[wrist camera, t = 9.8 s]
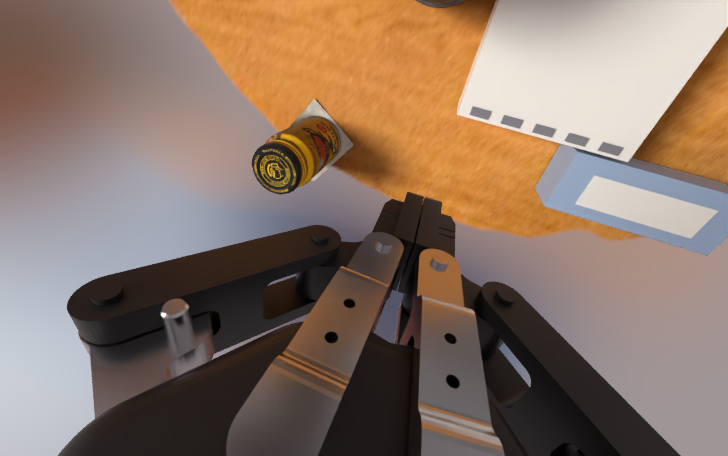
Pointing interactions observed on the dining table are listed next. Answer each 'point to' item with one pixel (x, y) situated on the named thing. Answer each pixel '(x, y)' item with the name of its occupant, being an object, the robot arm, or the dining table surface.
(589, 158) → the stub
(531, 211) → the dining table surface
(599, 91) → the white box
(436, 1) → the canister
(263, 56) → the dining table surface
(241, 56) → the dining table surface
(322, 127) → the condiment
